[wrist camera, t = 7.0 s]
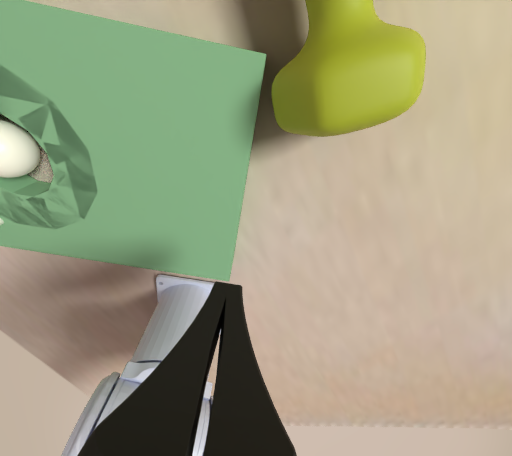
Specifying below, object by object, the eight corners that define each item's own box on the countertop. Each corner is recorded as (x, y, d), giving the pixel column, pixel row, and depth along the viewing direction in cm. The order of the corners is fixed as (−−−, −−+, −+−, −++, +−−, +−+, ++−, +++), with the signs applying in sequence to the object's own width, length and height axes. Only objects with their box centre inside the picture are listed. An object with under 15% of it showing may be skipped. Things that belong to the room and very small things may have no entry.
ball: (48, 170, 20) (41, 184, 17) (-20, 168, 18) (-41, 184, 15) (37, 120, 19) (28, 126, 16) (-39, 111, 16) (-66, 117, 13)
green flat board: (232, 263, 25) (229, 281, 23) (3, 227, 23) (-23, 242, 21) (266, 57, 15) (266, 54, 13) (-127, -30, 13) (-200, -50, 11)
